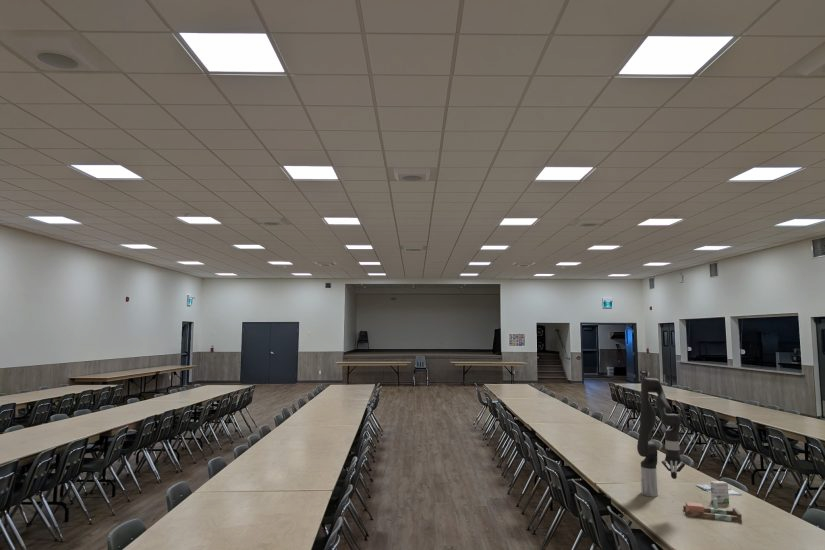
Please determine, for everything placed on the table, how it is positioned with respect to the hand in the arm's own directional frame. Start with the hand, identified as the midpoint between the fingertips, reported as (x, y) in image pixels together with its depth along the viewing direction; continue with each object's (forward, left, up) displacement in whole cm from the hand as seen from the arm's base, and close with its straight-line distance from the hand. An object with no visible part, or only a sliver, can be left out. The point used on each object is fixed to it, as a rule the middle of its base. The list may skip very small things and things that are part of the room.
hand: (674, 478), depth 292 cm
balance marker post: (+23, +10, -19) cm, 31 cm away
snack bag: (+35, +55, -20) cm, 68 cm away
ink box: (+30, +30, -19) cm, 47 cm away
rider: (+10, 0, -19) cm, 21 cm away
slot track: (+18, 0, -19) cm, 26 cm away
